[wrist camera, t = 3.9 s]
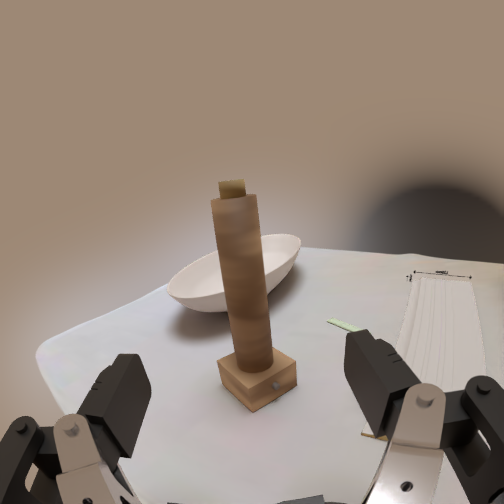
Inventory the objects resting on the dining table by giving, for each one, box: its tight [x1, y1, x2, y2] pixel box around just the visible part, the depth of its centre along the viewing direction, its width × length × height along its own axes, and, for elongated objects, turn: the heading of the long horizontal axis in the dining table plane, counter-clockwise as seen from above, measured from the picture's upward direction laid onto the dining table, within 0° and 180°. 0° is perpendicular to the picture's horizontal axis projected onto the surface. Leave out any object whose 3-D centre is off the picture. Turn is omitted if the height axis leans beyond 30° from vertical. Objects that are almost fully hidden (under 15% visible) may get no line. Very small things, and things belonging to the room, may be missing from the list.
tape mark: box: [327, 318, 371, 334], centre depth 31 cm, size 1×6×1 cm, turn 36°
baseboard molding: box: [361, 270, 486, 443], centre depth 25 cm, size 31×3×12 cm
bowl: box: [167, 234, 301, 312], centre depth 44 cm, size 30×15×6 cm, turn 150°
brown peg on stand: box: [211, 179, 297, 412], centre depth 21 cm, size 5×5×18 cm
